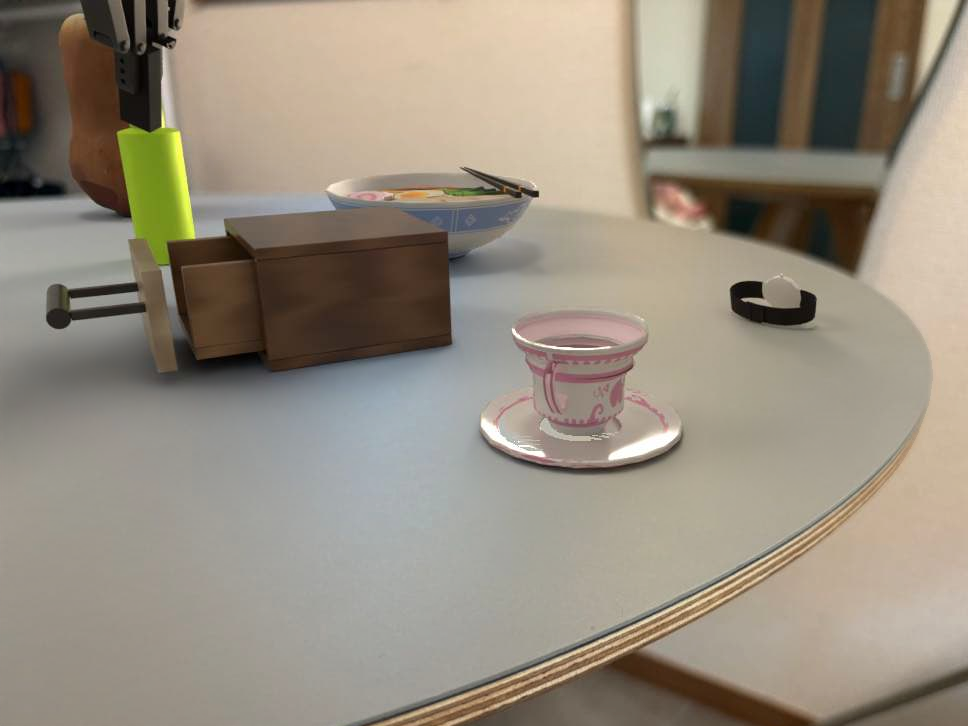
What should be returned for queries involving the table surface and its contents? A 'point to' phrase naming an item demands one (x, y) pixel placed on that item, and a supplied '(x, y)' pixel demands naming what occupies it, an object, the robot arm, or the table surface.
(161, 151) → the soap dispenser
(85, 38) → the butternut squash
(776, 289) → the watch
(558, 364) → the teacup
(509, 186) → the ramen bowl
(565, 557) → the table surface
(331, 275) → the cabinet
